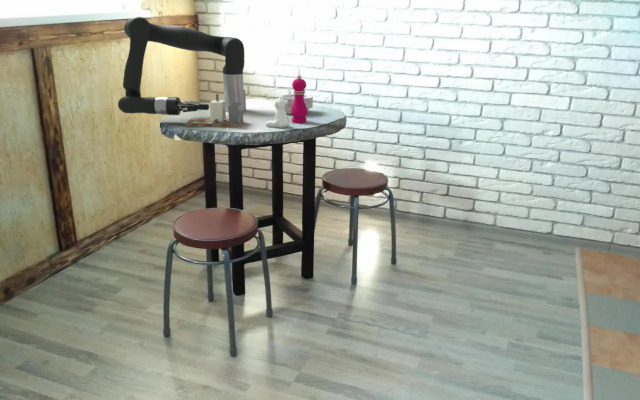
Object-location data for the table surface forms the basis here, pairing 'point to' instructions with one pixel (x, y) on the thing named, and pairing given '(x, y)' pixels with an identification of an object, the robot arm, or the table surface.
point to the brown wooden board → (210, 123)
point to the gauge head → (217, 110)
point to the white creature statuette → (279, 115)
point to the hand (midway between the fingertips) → (208, 107)
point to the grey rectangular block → (235, 113)
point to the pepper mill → (299, 101)
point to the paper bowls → (290, 98)
